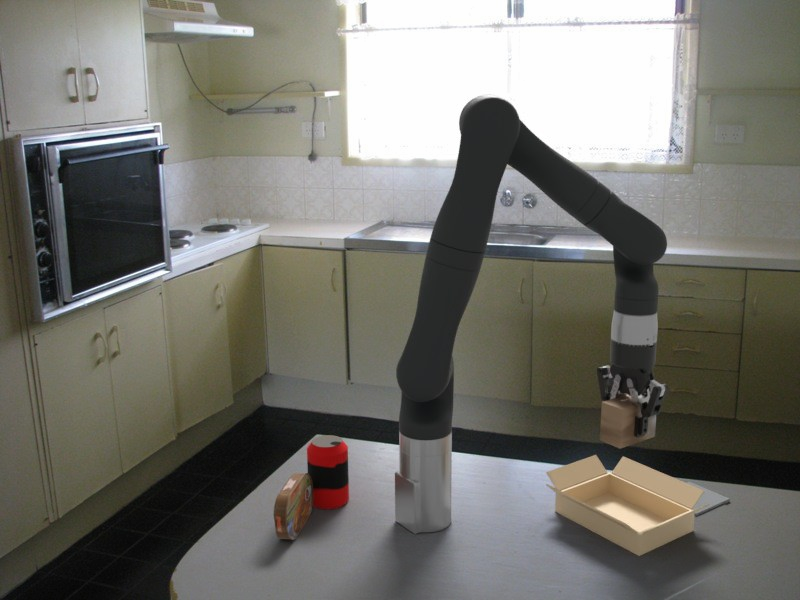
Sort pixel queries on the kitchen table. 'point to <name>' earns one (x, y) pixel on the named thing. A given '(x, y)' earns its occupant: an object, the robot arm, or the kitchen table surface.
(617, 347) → the robot arm
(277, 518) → the tin
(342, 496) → the soda can
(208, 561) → the kitchen table surface
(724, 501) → the mat
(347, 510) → the kitchen table surface
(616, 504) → the carton
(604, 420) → the tan rectangular block
